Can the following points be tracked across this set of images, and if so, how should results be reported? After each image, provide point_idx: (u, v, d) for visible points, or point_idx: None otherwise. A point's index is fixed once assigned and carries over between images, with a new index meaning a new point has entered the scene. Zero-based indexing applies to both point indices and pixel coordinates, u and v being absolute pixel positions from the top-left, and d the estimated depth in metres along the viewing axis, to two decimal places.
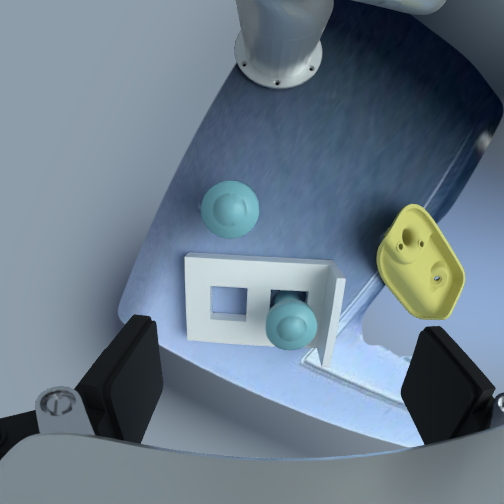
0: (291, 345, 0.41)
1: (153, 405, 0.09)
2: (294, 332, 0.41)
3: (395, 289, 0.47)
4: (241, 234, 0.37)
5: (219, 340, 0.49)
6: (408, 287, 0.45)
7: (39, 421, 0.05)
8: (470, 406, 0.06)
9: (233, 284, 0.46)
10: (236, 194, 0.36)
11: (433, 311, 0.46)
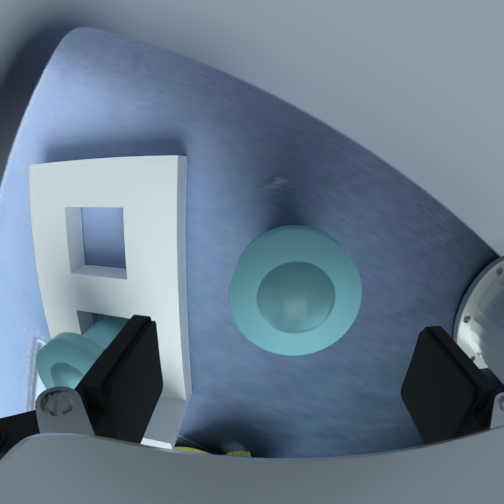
0: (46, 378, 0.19)
1: (153, 405, 0.09)
2: None
3: None
4: (239, 322, 0.16)
5: (35, 224, 0.22)
6: None
7: (39, 421, 0.05)
8: (470, 406, 0.06)
9: (130, 254, 0.23)
10: (330, 312, 0.16)
11: None
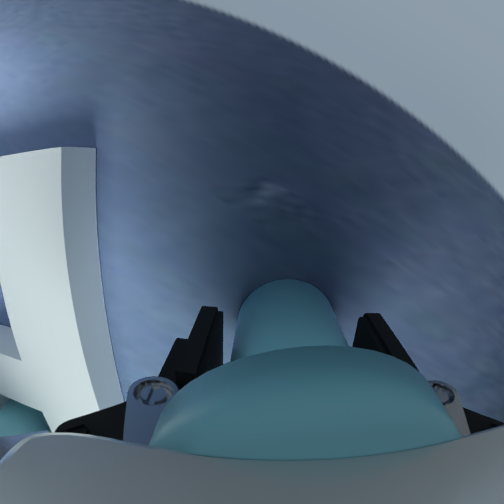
0: None
1: None
2: None
3: None
4: None
5: None
6: None
7: (128, 407, 0.06)
8: None
9: (16, 324, 0.11)
10: None
11: None
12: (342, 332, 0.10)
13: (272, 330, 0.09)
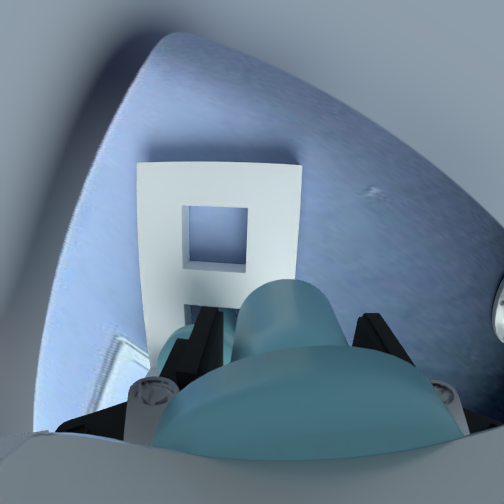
0: None
1: None
2: None
3: None
4: None
5: (142, 221, 0.27)
6: None
7: (128, 406, 0.06)
8: None
9: (252, 249, 0.27)
10: None
11: None
12: (342, 332, 0.10)
13: (272, 330, 0.09)
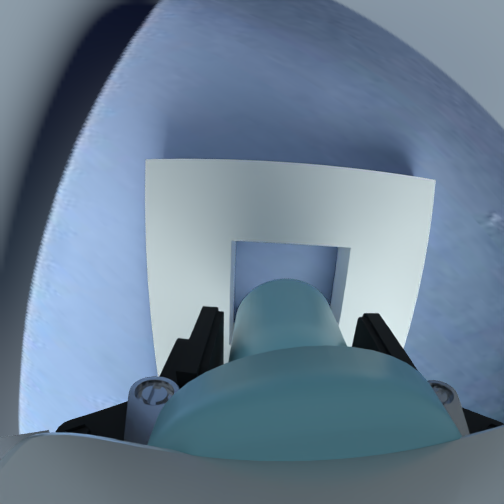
0: None
1: None
2: None
3: None
4: None
5: (155, 266, 0.15)
6: None
7: (129, 407, 0.06)
8: None
9: (350, 315, 0.15)
10: None
11: None
12: (340, 332, 0.10)
13: (270, 330, 0.09)
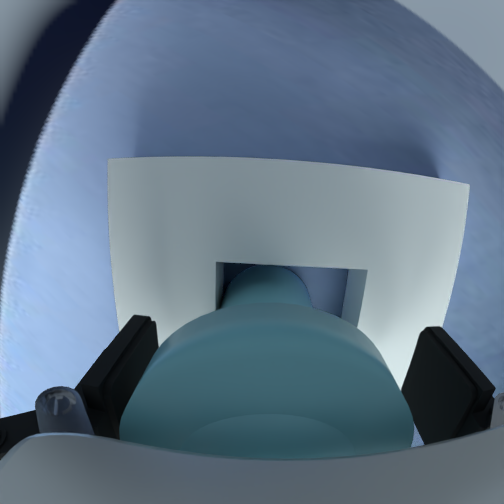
0: None
1: None
2: None
3: None
4: None
5: (124, 292, 0.12)
6: None
7: (39, 421, 0.05)
8: (470, 406, 0.06)
9: None
10: None
11: None
12: None
13: (247, 303, 0.10)
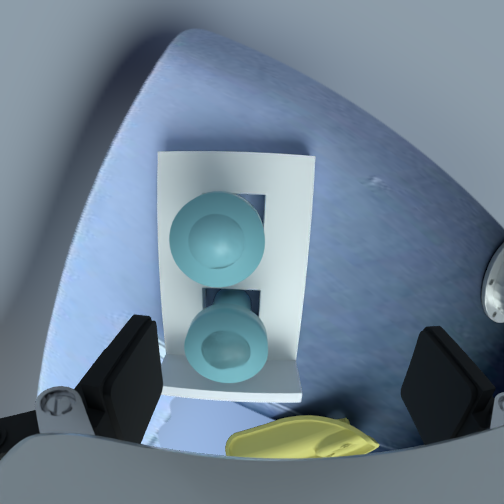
0: (193, 351, 0.25)
1: (153, 405, 0.09)
2: (219, 355, 0.25)
3: (276, 426, 0.37)
4: (177, 260, 0.22)
5: (162, 208, 0.28)
6: (281, 443, 0.36)
7: (39, 421, 0.05)
8: (470, 406, 0.06)
9: (269, 233, 0.29)
10: (242, 252, 0.22)
11: None
12: None
13: None
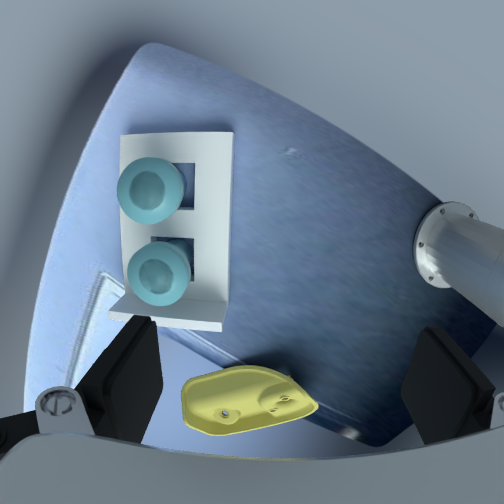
0: (133, 277, 0.33)
1: (153, 405, 0.09)
2: (151, 280, 0.33)
3: (226, 374, 0.45)
4: (121, 205, 0.30)
5: None
6: (229, 390, 0.43)
7: (39, 421, 0.05)
8: (470, 406, 0.06)
9: (198, 192, 0.36)
10: (164, 198, 0.30)
11: (190, 406, 0.45)
12: None
13: None
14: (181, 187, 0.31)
